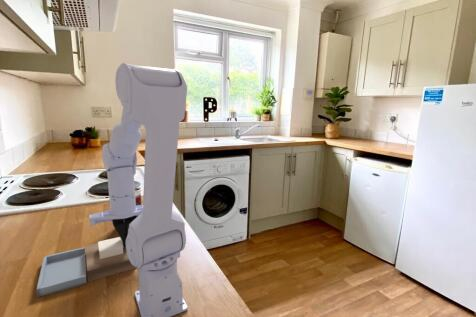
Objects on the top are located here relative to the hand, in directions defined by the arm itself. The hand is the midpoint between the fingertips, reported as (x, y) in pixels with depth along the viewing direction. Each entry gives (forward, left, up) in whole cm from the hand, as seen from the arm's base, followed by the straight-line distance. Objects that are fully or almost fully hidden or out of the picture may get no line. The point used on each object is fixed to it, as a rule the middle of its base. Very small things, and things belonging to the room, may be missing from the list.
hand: (126, 244), depth 65 cm
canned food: (+17, -3, -3) cm, 18 cm away
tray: (0, +13, -3) cm, 14 cm away
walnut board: (0, +4, -3) cm, 5 cm away
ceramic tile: (0, +3, -1) cm, 4 cm away
